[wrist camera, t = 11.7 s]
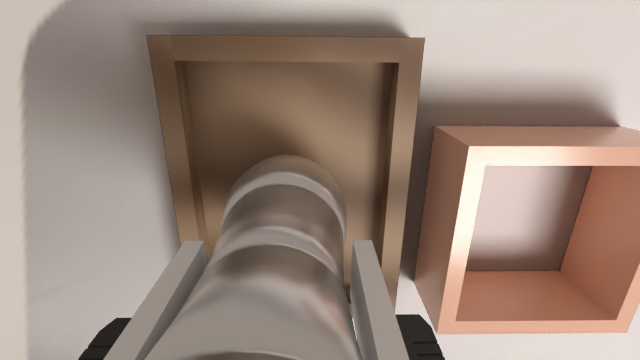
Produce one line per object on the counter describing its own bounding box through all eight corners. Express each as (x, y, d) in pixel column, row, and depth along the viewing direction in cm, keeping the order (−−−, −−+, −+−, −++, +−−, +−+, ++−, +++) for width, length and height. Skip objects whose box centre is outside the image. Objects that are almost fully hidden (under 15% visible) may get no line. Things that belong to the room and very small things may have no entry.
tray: (386, 293, 26) (394, 317, 23) (203, 294, 25) (192, 318, 23) (411, 39, 19) (424, 37, 17) (166, 37, 19) (146, 34, 17)
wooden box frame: (569, 281, 26) (626, 332, 21) (414, 282, 25) (436, 334, 21) (620, 126, 21) (706, 146, 17) (434, 125, 21) (469, 146, 16)
